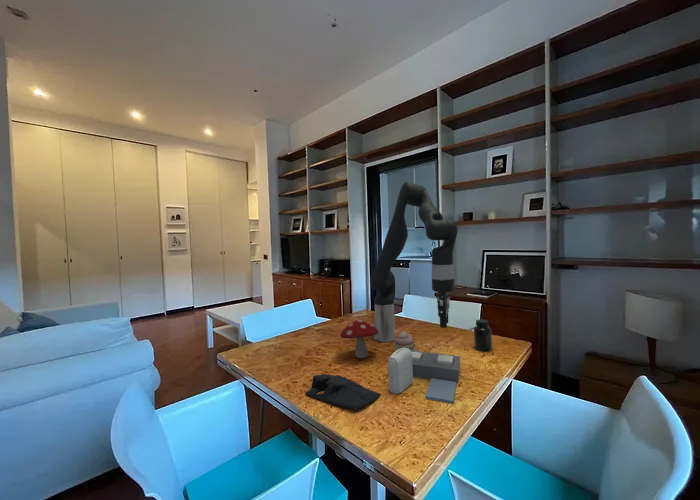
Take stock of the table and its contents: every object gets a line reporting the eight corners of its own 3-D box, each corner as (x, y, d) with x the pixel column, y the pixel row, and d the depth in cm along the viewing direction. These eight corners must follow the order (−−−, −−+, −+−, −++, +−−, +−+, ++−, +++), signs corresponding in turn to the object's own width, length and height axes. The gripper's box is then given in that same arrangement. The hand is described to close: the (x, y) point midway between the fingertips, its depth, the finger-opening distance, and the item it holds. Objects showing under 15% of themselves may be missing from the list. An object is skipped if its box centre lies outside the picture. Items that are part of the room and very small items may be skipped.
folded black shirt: (353, 420, 80) (352, 403, 80) (301, 394, 94) (300, 380, 94) (385, 396, 91) (384, 381, 91) (334, 376, 106) (334, 363, 106)
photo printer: (399, 396, 90) (397, 356, 90) (387, 391, 93) (385, 353, 93) (414, 382, 98) (413, 346, 98) (403, 378, 101) (402, 343, 100)
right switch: (437, 366, 102) (437, 360, 102) (438, 360, 107) (438, 354, 106) (452, 368, 100) (452, 362, 100) (453, 362, 105) (453, 356, 104)
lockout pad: (425, 398, 88) (425, 396, 88) (431, 380, 99) (431, 378, 99) (453, 403, 85) (453, 401, 85) (456, 384, 96) (456, 381, 96)
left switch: (405, 362, 106) (405, 356, 106) (408, 357, 111) (408, 351, 111) (419, 364, 104) (419, 358, 104) (422, 358, 109) (422, 352, 109)
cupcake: (410, 349, 127) (410, 326, 126) (419, 357, 118) (418, 333, 117) (390, 351, 125) (389, 328, 125) (397, 360, 116) (396, 335, 116)
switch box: (398, 374, 104) (397, 360, 104) (406, 361, 115) (405, 347, 115) (458, 383, 96) (457, 367, 96) (460, 368, 107) (459, 353, 107)
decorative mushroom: (334, 360, 119) (332, 324, 118) (352, 346, 133) (350, 314, 132) (370, 367, 111) (368, 328, 110) (385, 351, 125) (383, 317, 125)
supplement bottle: (488, 345, 127) (487, 318, 127) (494, 351, 120) (494, 323, 120) (472, 345, 128) (471, 318, 127) (477, 352, 121) (476, 323, 120)
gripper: (434, 274, 110) (435, 319, 111) (428, 280, 97) (430, 330, 98) (455, 274, 107) (456, 320, 108) (452, 280, 94) (454, 332, 95)
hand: (444, 325), depth 103 cm, fingers open, 5 cm apart
